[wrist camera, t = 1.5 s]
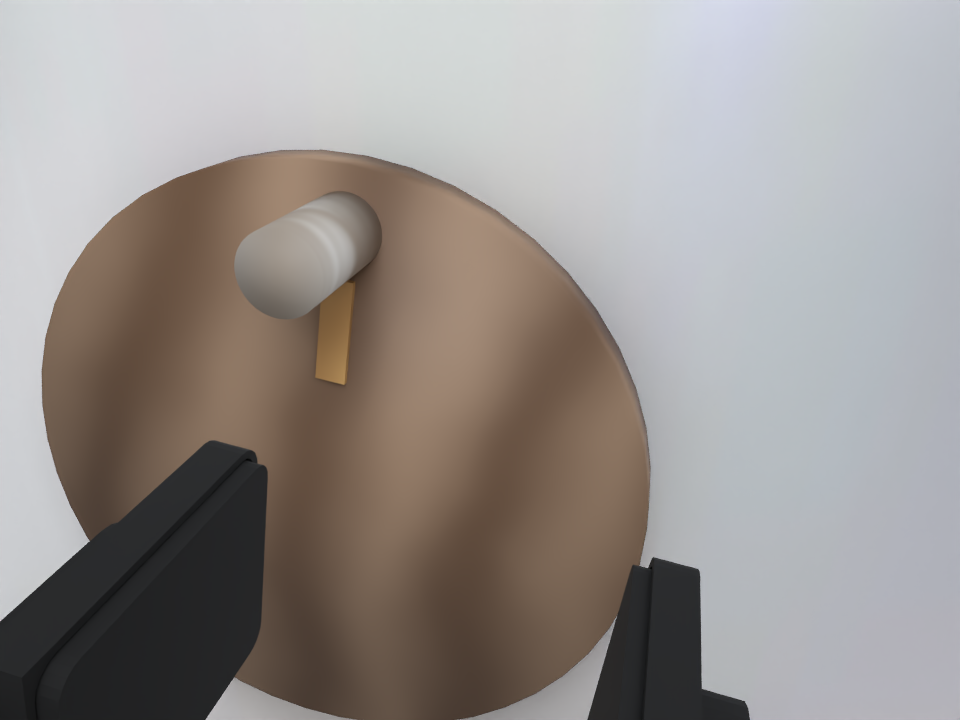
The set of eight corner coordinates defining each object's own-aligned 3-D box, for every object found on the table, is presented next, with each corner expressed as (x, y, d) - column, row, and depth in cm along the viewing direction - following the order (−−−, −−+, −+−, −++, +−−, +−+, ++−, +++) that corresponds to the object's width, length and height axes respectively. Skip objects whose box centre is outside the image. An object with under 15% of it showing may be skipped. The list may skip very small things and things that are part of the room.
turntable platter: (731, 230, 24) (741, 296, 18) (577, 759, 33) (556, 904, 28) (48, 90, 27) (-110, 112, 21) (86, 608, 36) (-18, 712, 31)
